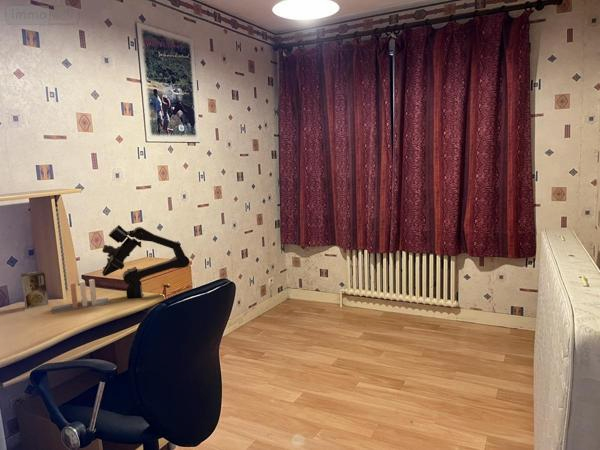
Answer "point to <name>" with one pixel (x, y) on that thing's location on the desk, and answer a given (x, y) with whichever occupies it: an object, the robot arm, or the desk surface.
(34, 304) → the coffee box
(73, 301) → the domino
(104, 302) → the mat
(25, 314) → the desk surface
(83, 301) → the domino
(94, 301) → the domino
